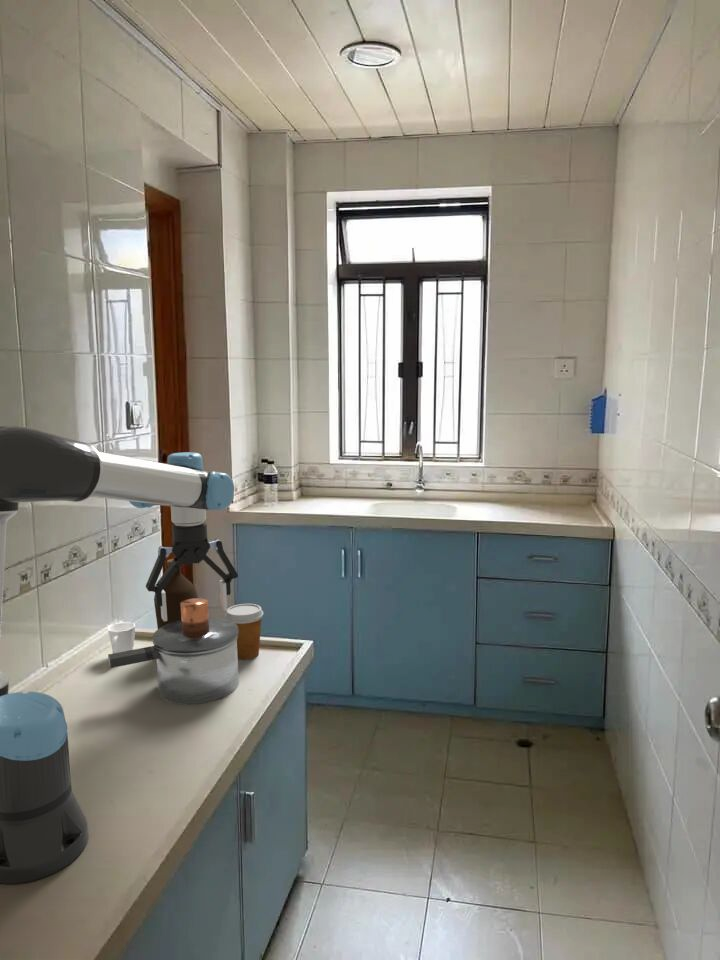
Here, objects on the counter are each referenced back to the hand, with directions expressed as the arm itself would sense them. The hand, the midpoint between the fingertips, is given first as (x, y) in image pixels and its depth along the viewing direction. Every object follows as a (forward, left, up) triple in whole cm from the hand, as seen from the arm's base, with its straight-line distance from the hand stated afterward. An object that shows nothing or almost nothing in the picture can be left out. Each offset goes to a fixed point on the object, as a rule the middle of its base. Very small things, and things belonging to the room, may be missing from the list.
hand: (194, 614), depth 161 cm
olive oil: (0, +20, -17) cm, 26 cm away
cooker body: (-5, 0, -17) cm, 18 cm away
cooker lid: (0, 0, -5) cm, 5 cm away
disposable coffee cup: (+15, +12, -17) cm, 26 cm away
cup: (-14, +25, -17) cm, 33 cm away
